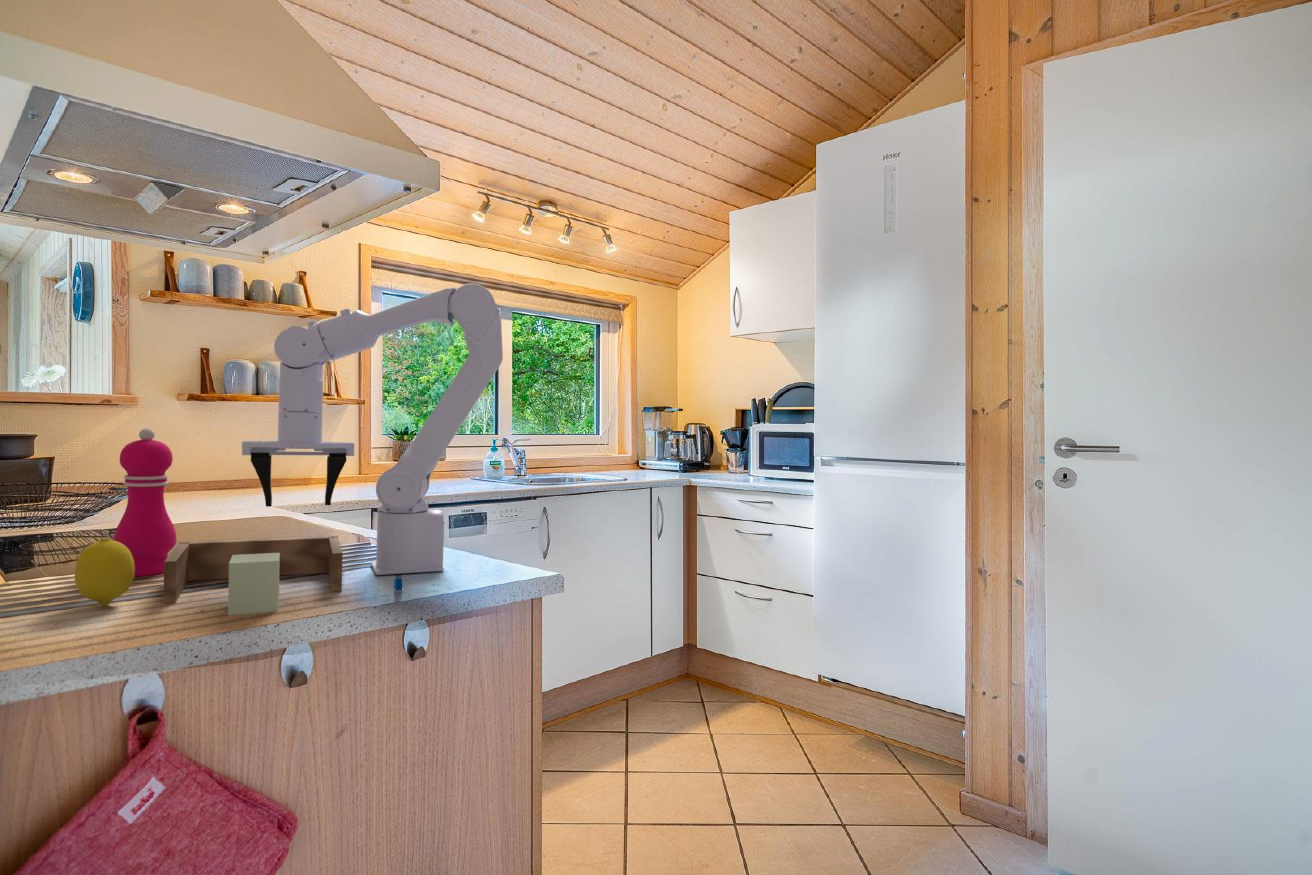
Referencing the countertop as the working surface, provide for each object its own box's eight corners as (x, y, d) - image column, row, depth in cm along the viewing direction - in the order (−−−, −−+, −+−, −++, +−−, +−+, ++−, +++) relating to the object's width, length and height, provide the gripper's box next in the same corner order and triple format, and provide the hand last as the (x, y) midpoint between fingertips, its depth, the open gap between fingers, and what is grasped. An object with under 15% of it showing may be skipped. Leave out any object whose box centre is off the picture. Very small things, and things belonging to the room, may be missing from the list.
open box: (337, 570, 105) (337, 536, 105) (341, 590, 94) (342, 552, 93) (179, 579, 96) (179, 542, 96) (163, 603, 85) (164, 561, 85)
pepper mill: (160, 563, 105) (162, 427, 104) (186, 570, 101) (188, 429, 100) (102, 572, 98) (104, 427, 98) (128, 580, 95) (130, 429, 94)
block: (278, 600, 88) (279, 552, 88) (277, 611, 84) (278, 560, 83) (231, 604, 86) (232, 554, 86) (228, 615, 81) (228, 563, 81)
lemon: (82, 615, 79) (83, 543, 79) (67, 605, 83) (68, 536, 82) (141, 605, 84) (142, 537, 83) (125, 596, 87) (126, 531, 87)
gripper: (241, 410, 97) (239, 510, 98) (356, 414, 104) (354, 507, 104) (244, 409, 103) (242, 503, 104) (353, 413, 110) (351, 501, 110)
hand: (298, 505), depth 104 cm, fingers open, 7 cm apart
